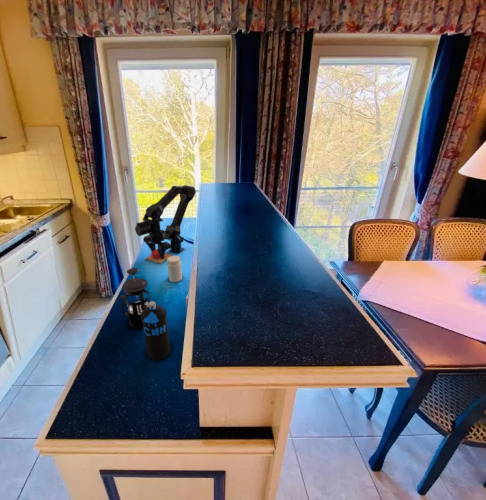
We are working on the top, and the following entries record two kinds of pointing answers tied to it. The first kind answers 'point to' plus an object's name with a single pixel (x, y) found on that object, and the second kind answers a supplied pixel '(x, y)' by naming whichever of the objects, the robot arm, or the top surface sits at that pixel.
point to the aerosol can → (156, 331)
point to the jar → (174, 268)
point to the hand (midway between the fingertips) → (158, 256)
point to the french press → (135, 289)
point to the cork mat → (158, 259)
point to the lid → (156, 254)
